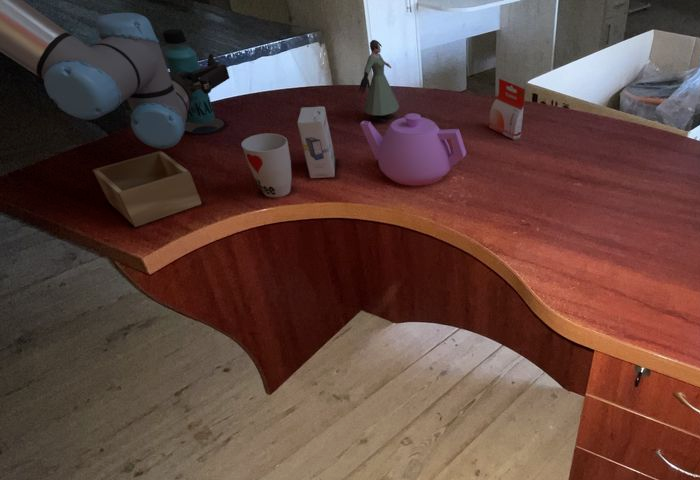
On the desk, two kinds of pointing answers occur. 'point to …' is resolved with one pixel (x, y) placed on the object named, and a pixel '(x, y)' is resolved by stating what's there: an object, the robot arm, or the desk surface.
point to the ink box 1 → (316, 142)
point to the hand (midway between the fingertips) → (178, 62)
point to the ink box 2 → (508, 109)
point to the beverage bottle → (180, 62)
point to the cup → (269, 163)
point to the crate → (148, 187)
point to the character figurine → (378, 86)
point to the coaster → (204, 126)
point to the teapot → (414, 150)
